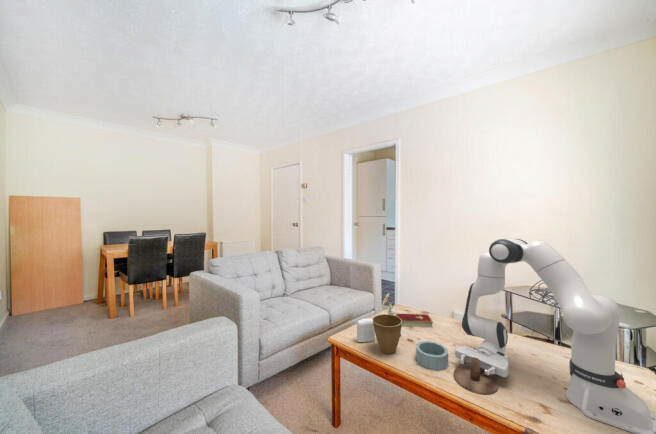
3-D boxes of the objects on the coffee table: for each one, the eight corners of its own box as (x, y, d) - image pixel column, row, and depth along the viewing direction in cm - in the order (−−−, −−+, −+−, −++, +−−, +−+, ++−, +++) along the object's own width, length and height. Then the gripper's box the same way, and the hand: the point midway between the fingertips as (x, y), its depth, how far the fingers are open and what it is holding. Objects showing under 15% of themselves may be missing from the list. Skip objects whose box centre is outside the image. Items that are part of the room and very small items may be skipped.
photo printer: (373, 337, 144) (372, 316, 144) (376, 341, 140) (375, 319, 140) (356, 340, 142) (355, 318, 142) (358, 343, 138) (358, 321, 137)
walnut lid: (500, 380, 106) (501, 358, 106) (494, 401, 94) (494, 377, 94) (459, 364, 117) (459, 345, 117) (448, 382, 105) (449, 360, 105)
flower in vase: (386, 327, 156) (385, 287, 155) (404, 332, 149) (403, 291, 149) (377, 336, 145) (376, 293, 145) (396, 342, 139) (395, 297, 138)
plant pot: (386, 340, 141) (385, 311, 141) (408, 351, 129) (407, 320, 129) (367, 348, 132) (366, 318, 132) (389, 362, 120) (388, 329, 120)
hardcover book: (395, 318, 170) (395, 312, 170) (428, 320, 167) (428, 313, 167) (398, 327, 158) (398, 320, 158) (433, 328, 155) (433, 321, 155)
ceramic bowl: (453, 361, 119) (453, 349, 119) (439, 374, 111) (438, 360, 110) (425, 349, 130) (425, 338, 130) (410, 360, 121) (410, 348, 121)
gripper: (462, 339, 122) (448, 350, 113) (512, 357, 106) (501, 371, 97) (462, 352, 122) (449, 363, 113) (512, 372, 106) (502, 387, 97)
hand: (473, 367), depth 105 cm, fingers open, 8 cm apart
